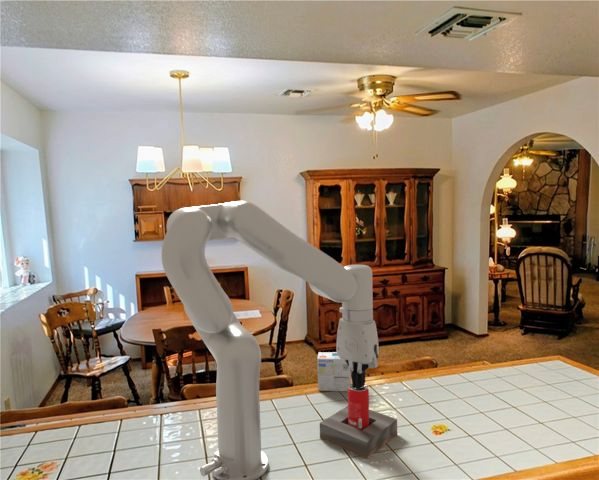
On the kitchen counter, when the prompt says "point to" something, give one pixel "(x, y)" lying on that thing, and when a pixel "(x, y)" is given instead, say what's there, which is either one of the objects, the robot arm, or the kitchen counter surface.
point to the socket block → (358, 432)
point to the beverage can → (358, 407)
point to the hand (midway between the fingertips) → (358, 386)
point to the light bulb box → (332, 372)
